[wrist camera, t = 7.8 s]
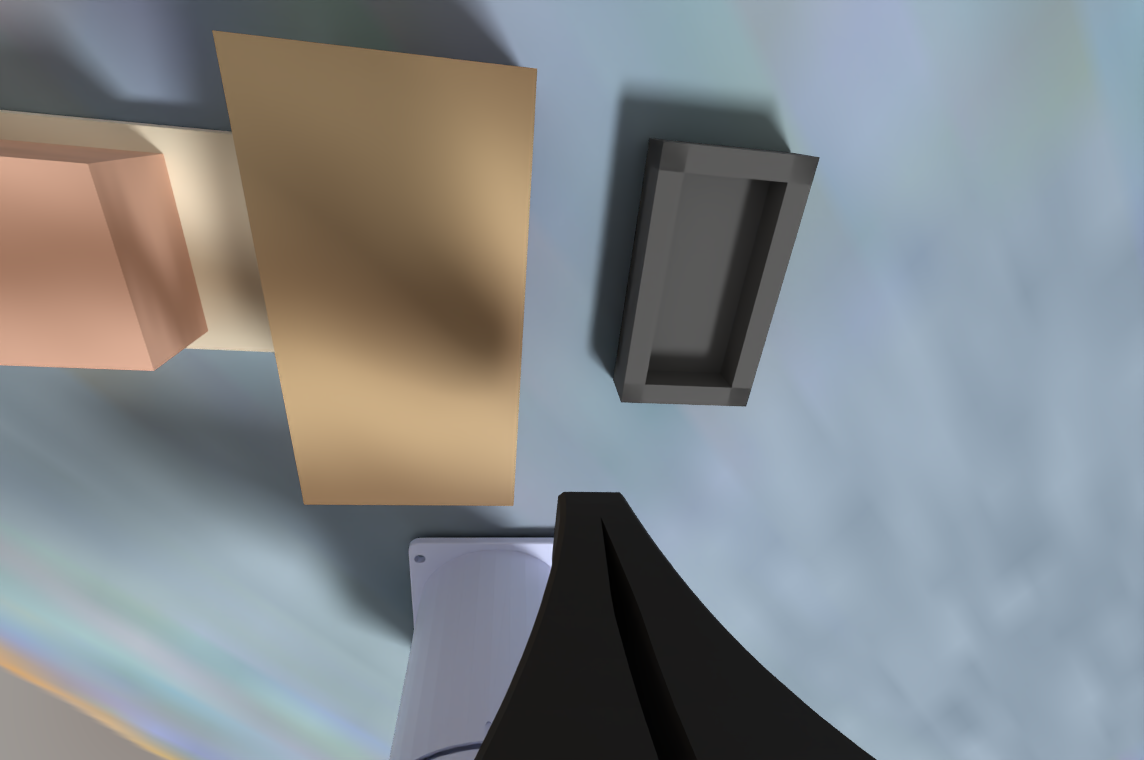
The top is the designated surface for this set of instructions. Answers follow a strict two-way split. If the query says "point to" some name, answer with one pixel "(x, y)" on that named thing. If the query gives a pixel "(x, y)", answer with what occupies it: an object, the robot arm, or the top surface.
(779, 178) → the tray
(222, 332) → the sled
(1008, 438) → the top surface
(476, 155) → the tunnel
